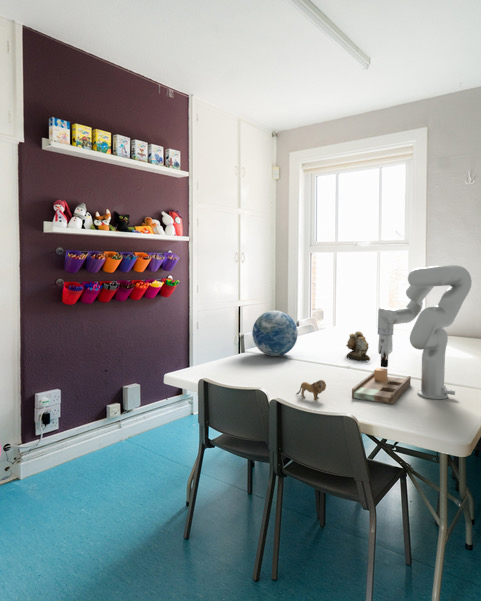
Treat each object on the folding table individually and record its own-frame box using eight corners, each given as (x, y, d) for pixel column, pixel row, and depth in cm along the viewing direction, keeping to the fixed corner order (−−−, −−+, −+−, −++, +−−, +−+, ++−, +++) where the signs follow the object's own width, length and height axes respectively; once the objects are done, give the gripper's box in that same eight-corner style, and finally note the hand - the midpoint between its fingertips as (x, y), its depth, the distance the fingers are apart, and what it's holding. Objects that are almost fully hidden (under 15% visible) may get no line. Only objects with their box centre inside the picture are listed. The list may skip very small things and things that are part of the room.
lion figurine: (328, 398, 196) (328, 379, 195) (323, 402, 191) (323, 382, 191) (298, 393, 204) (298, 375, 203) (293, 396, 200) (293, 377, 199)
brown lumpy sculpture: (340, 356, 282) (340, 330, 281) (353, 354, 288) (354, 329, 286) (361, 361, 266) (361, 334, 265) (374, 359, 272) (375, 332, 271)
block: (387, 378, 216) (387, 368, 215) (384, 381, 211) (384, 371, 211) (377, 377, 218) (377, 367, 218) (374, 379, 214) (374, 369, 214)
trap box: (410, 385, 214) (410, 376, 214) (393, 404, 186) (393, 394, 185) (373, 380, 224) (373, 371, 224) (351, 398, 196) (352, 388, 195)
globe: (306, 354, 288) (306, 309, 286) (278, 362, 267) (278, 314, 264) (272, 349, 309) (271, 307, 306) (243, 356, 287) (242, 311, 285)
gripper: (389, 334, 212) (387, 371, 214) (396, 329, 224) (395, 364, 226) (373, 333, 216) (372, 369, 218) (381, 328, 228) (380, 362, 231)
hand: (384, 366), depth 222 cm, fingers closed
